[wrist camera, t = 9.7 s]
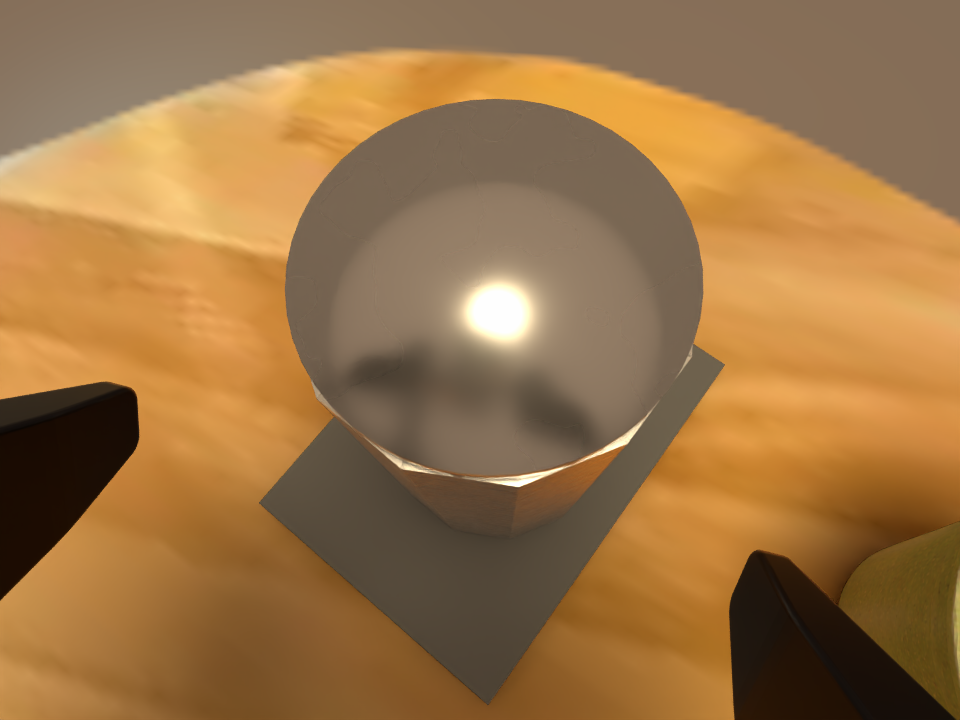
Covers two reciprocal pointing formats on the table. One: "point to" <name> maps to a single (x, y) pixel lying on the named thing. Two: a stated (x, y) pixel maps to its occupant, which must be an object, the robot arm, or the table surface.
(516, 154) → the brushed metal canister
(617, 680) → the table surface
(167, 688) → the table surface
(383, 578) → the charcoal mat
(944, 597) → the plant pot
